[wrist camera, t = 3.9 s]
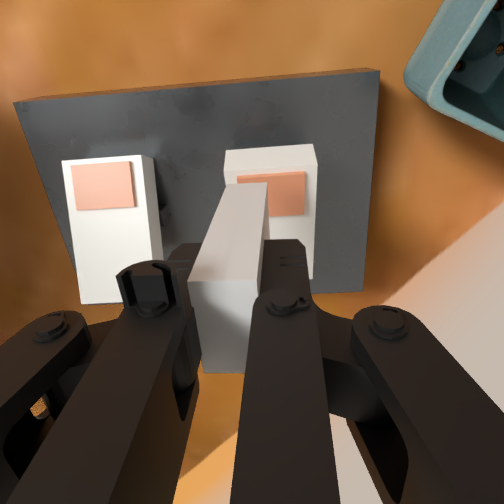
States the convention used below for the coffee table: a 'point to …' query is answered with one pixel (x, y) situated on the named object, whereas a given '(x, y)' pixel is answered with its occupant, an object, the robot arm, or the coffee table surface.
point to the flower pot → (473, 65)
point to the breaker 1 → (111, 220)
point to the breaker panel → (224, 151)
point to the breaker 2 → (282, 188)
